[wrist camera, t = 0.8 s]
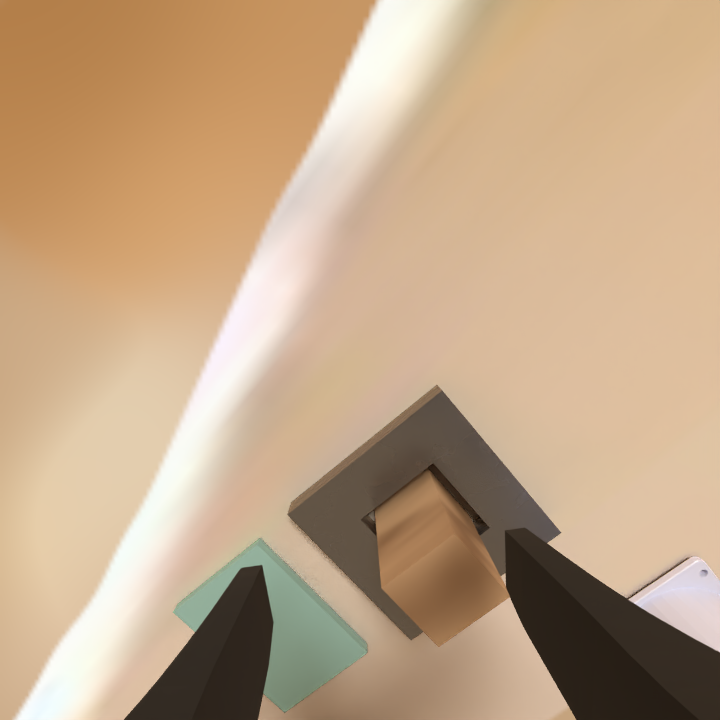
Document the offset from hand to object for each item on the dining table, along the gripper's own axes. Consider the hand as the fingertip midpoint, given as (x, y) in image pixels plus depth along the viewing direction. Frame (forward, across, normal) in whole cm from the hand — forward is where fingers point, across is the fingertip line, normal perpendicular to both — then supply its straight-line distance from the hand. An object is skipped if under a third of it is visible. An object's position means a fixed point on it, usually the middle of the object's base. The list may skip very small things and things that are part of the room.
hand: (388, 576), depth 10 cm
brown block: (+10, -3, +5) cm, 12 cm away
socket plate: (+10, -3, +5) cm, 12 cm away
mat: (+10, +7, +12) cm, 17 cm away
